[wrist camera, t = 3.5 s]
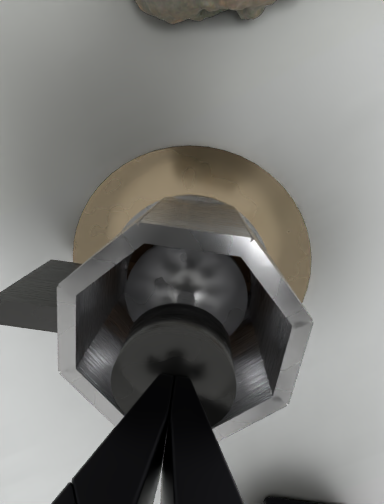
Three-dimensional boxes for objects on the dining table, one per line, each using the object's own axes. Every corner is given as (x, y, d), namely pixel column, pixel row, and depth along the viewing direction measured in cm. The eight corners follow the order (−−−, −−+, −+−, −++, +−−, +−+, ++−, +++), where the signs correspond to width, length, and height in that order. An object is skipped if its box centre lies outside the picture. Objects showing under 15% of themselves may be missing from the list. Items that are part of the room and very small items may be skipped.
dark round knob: (256, 246, 12) (296, 314, 7) (234, 351, 14) (252, 472, 9) (132, 229, 12) (74, 283, 7) (124, 336, 14) (74, 446, 9)
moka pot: (339, 165, 14) (461, 170, 7) (279, 379, 18) (322, 509, 11) (73, 128, 14) (-47, 100, 7) (73, 350, 18) (-5, 462, 11)
